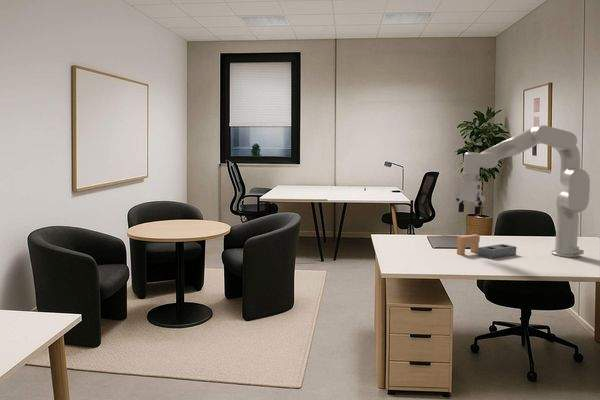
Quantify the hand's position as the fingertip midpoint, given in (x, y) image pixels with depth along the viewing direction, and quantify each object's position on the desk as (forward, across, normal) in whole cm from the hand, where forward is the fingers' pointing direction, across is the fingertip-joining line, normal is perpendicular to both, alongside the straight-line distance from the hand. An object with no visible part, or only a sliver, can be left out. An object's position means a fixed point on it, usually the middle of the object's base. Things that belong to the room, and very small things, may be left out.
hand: (469, 213), depth 274 cm
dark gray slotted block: (+20, -11, -8) cm, 24 cm away
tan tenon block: (+20, 0, 0) cm, 20 cm away
